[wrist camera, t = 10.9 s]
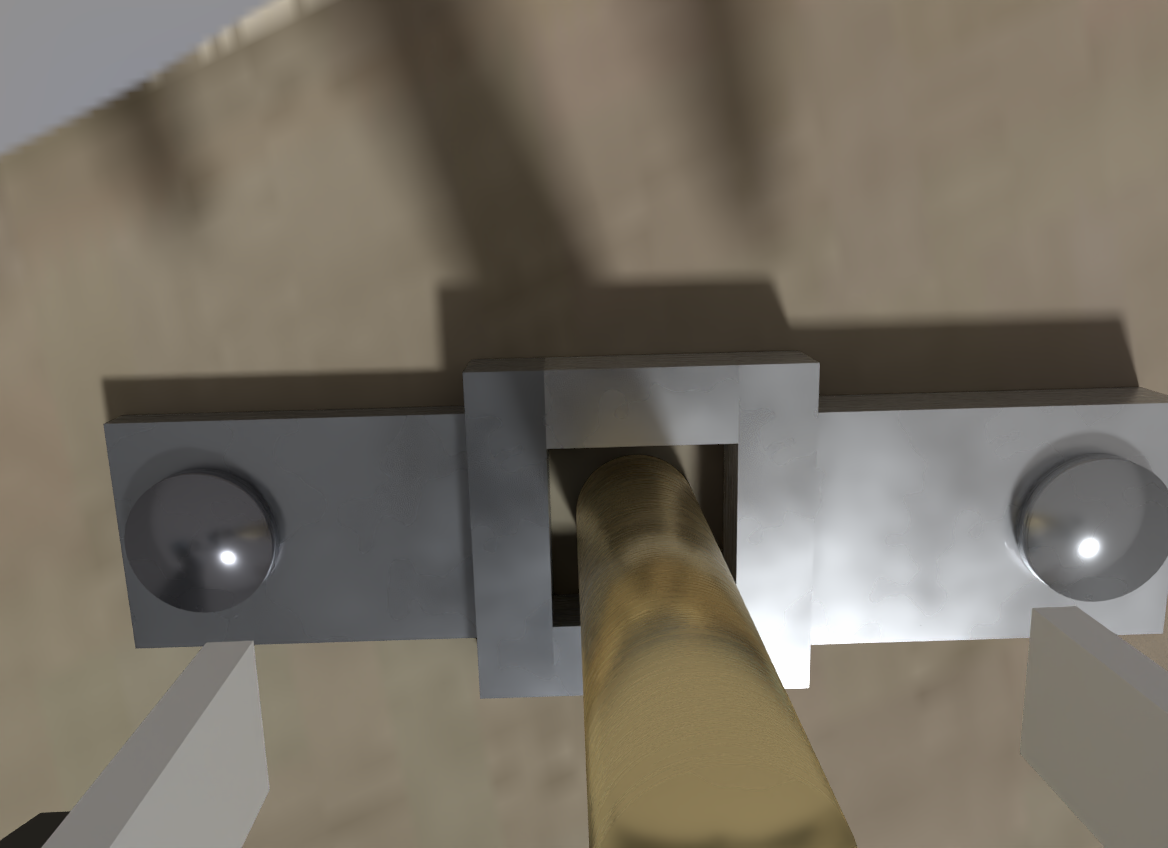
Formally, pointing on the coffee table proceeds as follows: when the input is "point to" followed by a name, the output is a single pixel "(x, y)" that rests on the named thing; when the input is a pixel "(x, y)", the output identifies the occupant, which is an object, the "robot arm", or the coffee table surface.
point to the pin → (683, 684)
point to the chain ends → (645, 418)
